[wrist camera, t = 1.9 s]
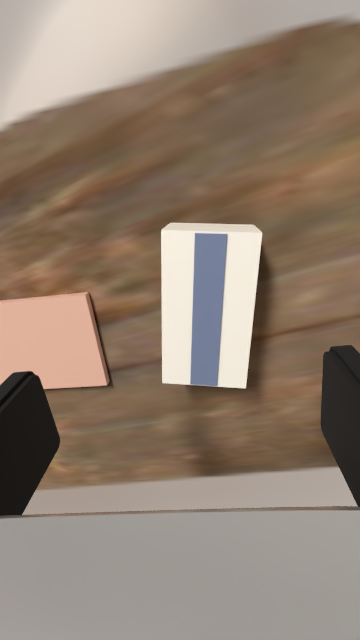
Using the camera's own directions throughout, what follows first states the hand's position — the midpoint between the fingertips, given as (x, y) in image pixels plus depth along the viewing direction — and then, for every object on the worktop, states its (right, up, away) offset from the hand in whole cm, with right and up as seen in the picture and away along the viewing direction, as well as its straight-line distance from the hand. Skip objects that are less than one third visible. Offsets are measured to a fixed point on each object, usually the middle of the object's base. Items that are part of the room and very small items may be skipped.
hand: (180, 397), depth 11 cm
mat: (-13, +1, +14) cm, 19 cm away
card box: (+2, +4, +11) cm, 12 cm away
